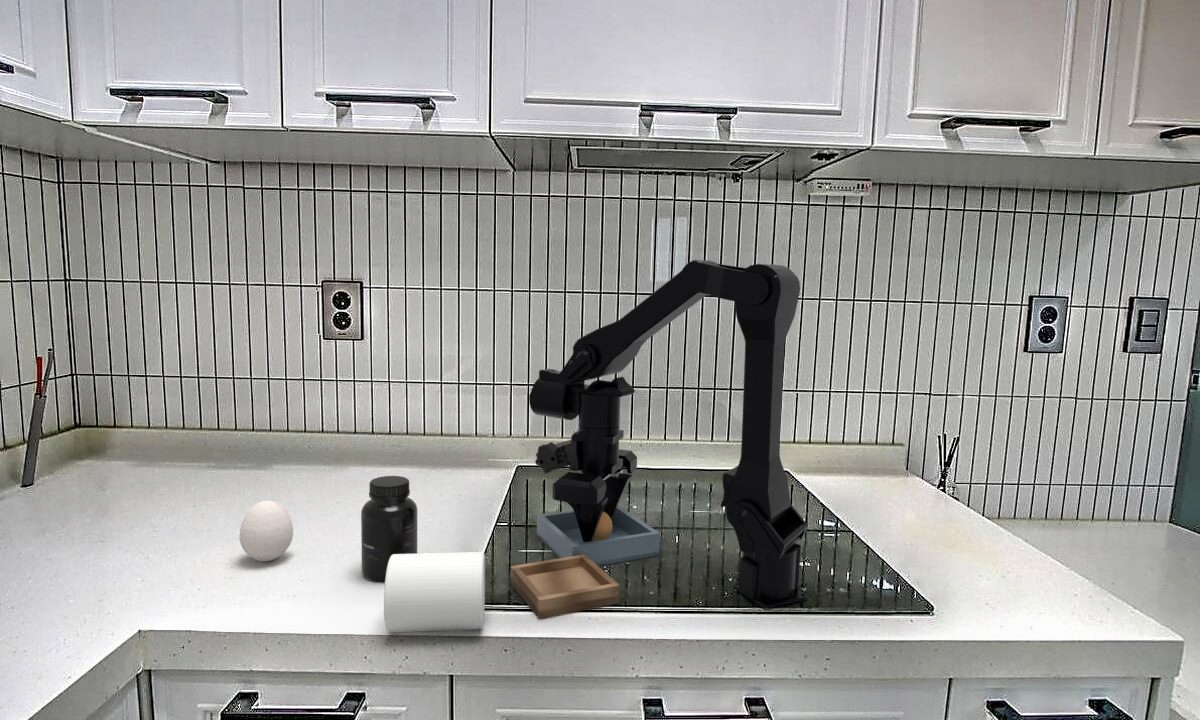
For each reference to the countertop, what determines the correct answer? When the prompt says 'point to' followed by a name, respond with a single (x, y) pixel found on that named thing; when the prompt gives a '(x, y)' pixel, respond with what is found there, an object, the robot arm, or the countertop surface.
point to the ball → (603, 528)
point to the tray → (564, 586)
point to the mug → (434, 592)
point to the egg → (266, 531)
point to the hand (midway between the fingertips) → (596, 533)
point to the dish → (622, 544)
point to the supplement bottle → (387, 525)
